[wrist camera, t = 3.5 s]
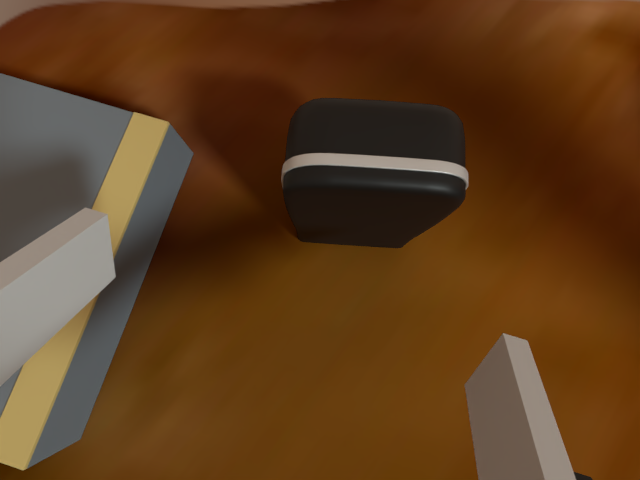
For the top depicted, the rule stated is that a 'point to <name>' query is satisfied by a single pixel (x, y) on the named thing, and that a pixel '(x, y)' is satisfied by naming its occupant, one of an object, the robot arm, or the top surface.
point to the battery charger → (372, 170)
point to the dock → (54, 208)
